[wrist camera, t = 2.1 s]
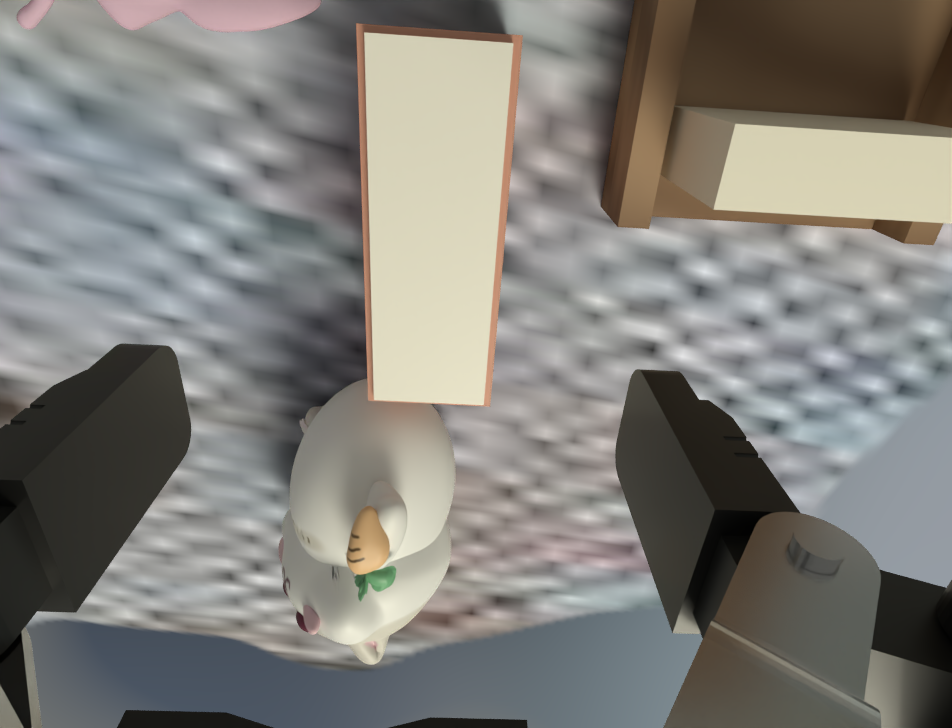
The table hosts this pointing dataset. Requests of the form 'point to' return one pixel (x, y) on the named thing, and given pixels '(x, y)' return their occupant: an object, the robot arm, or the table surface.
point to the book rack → (772, 86)
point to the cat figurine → (367, 518)
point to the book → (434, 206)
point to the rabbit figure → (190, 12)
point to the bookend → (811, 164)
